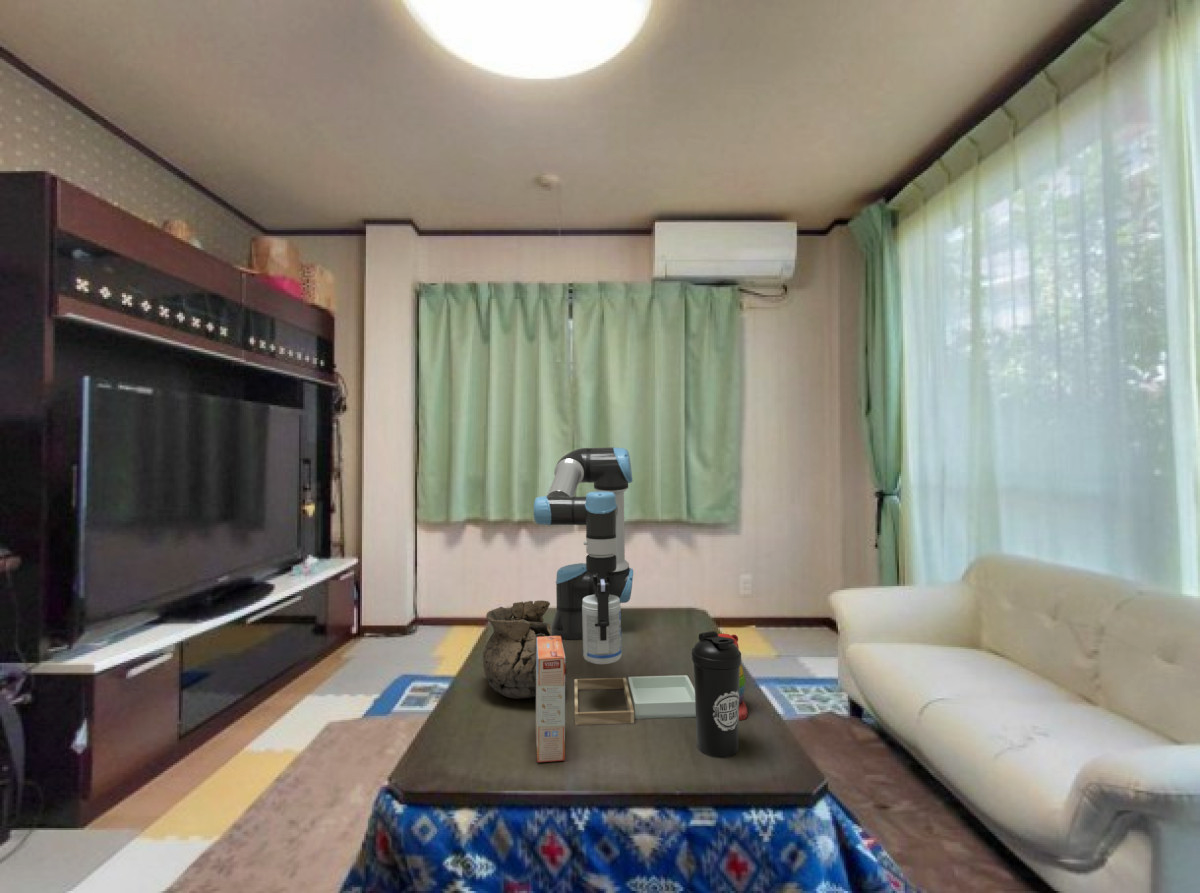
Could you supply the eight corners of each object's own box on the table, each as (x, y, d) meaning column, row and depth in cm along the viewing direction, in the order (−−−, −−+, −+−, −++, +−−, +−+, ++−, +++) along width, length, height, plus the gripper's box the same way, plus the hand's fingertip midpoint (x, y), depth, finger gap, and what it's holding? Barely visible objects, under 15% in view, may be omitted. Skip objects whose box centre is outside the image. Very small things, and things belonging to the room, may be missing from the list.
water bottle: (711, 764, 108) (710, 647, 108) (683, 740, 117) (682, 632, 118) (752, 753, 112) (751, 640, 112) (722, 730, 121) (721, 626, 122)
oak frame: (574, 688, 144) (574, 679, 144) (625, 687, 144) (625, 677, 144) (574, 725, 124) (574, 713, 124) (634, 723, 125) (634, 712, 125)
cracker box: (566, 762, 109) (566, 656, 110) (536, 764, 108) (536, 658, 109) (562, 727, 123) (562, 634, 123) (535, 729, 122) (535, 635, 123)
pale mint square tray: (628, 690, 142) (628, 676, 142) (687, 688, 143) (687, 675, 143) (635, 718, 127) (634, 703, 127) (701, 716, 128) (701, 701, 128)
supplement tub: (629, 660, 133) (628, 599, 133) (596, 669, 128) (596, 606, 128) (606, 648, 142) (606, 591, 142) (575, 656, 136) (574, 597, 136)
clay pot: (487, 673, 154) (487, 597, 155) (571, 672, 155) (570, 596, 155) (467, 714, 129) (466, 623, 130) (566, 713, 130) (566, 622, 130)
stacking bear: (698, 714, 129) (697, 638, 129) (706, 696, 138) (705, 626, 139) (745, 722, 125) (744, 643, 125) (750, 703, 134) (749, 630, 135)
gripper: (585, 546, 146) (585, 630, 146) (587, 564, 124) (588, 663, 124) (613, 546, 146) (613, 629, 146) (620, 563, 124) (621, 662, 124)
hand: (601, 645), depth 135 cm, fingers closed on supplement tub, 10 cm apart
